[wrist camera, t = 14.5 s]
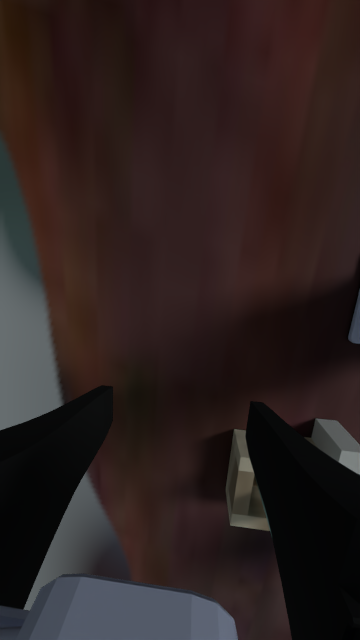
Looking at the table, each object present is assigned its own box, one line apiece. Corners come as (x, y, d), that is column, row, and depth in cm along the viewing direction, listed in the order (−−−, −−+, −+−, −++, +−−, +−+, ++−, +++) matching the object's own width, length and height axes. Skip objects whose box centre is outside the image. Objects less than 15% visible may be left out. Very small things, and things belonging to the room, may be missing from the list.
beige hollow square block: (310, 437, 22) (331, 468, 19) (297, 499, 24) (313, 537, 20) (234, 429, 22) (240, 456, 19) (225, 489, 24) (230, 525, 21)
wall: (336, 420, 21) (368, 453, 18) (312, 517, 24) (334, 565, 20) (315, 418, 22) (341, 450, 18) (293, 515, 24) (312, 562, 20)
